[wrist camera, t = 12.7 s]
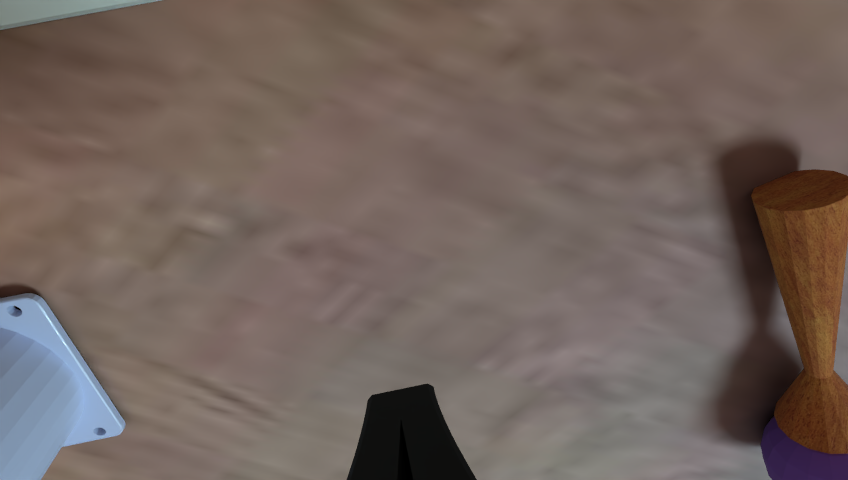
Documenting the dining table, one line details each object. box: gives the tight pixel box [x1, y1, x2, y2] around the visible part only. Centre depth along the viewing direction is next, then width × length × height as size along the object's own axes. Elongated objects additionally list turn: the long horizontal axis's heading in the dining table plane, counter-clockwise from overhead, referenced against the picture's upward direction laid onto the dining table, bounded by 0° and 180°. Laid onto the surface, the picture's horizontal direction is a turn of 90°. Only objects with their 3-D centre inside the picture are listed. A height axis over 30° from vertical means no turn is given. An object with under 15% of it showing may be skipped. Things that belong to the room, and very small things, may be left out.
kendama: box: [751, 170, 848, 480], centre depth 24 cm, size 6×6×20 cm
